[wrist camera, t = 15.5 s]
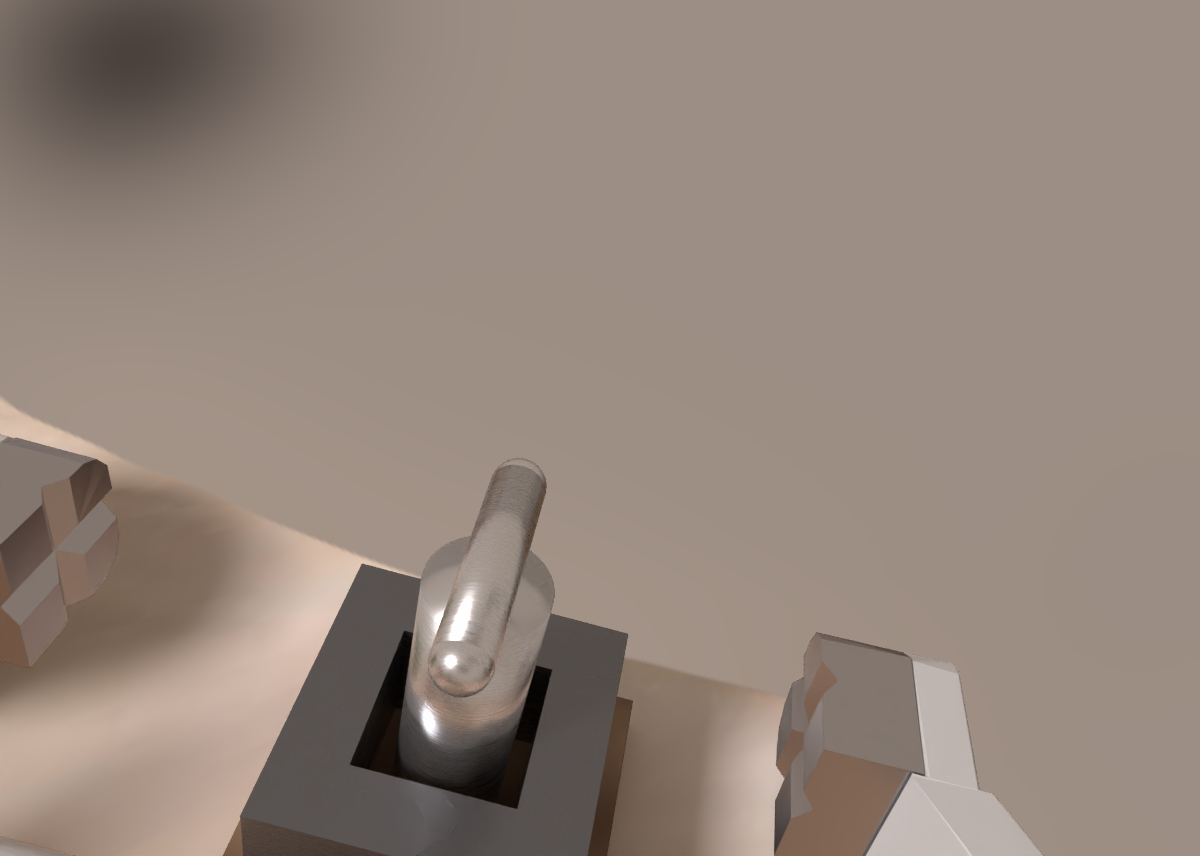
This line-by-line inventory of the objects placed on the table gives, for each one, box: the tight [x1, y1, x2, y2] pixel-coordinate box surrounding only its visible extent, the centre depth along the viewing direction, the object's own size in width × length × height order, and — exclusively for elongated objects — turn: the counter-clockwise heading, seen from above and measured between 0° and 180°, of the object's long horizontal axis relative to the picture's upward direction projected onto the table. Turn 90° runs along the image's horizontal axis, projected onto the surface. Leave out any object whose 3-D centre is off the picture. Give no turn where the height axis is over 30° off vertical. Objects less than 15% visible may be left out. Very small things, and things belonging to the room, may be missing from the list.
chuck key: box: [393, 458, 555, 803], centre depth 33 cm, size 9×4×14 cm, turn 171°
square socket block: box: [240, 564, 628, 856], centre depth 36 cm, size 11×11×5 cm
